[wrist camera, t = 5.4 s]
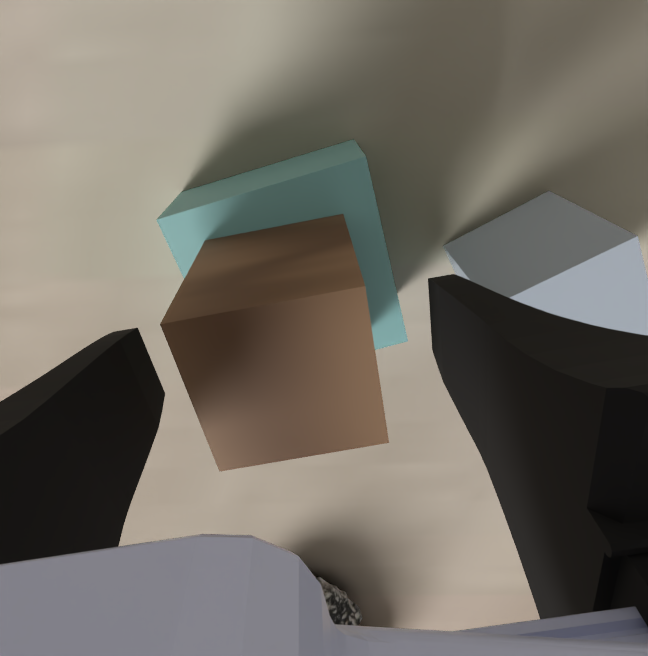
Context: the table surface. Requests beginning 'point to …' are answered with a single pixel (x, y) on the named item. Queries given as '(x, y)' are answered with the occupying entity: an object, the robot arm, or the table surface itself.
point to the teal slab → (295, 218)
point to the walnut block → (278, 345)
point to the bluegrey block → (559, 263)
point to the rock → (340, 605)
